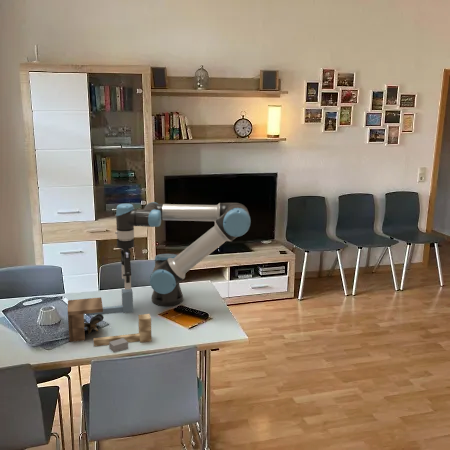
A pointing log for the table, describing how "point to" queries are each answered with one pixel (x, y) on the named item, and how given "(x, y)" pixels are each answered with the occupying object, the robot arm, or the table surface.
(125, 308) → the crook
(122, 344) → the grey eraser block
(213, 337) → the table surface
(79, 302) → the wooden l bracket
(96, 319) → the eagle figurine
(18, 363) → the table surface
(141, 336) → the plain l-shaped wooden block
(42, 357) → the table surface
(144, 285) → the table surface
